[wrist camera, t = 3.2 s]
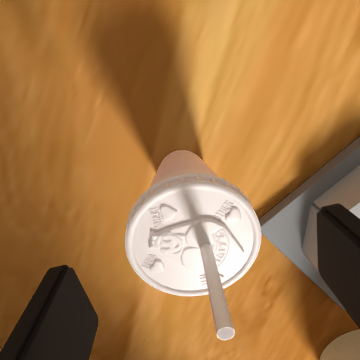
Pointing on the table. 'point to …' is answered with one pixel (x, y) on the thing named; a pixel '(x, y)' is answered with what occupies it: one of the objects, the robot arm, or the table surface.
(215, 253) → the smoothie
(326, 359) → the reusable coffee cup
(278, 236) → the bottle socket
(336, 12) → the table surface
